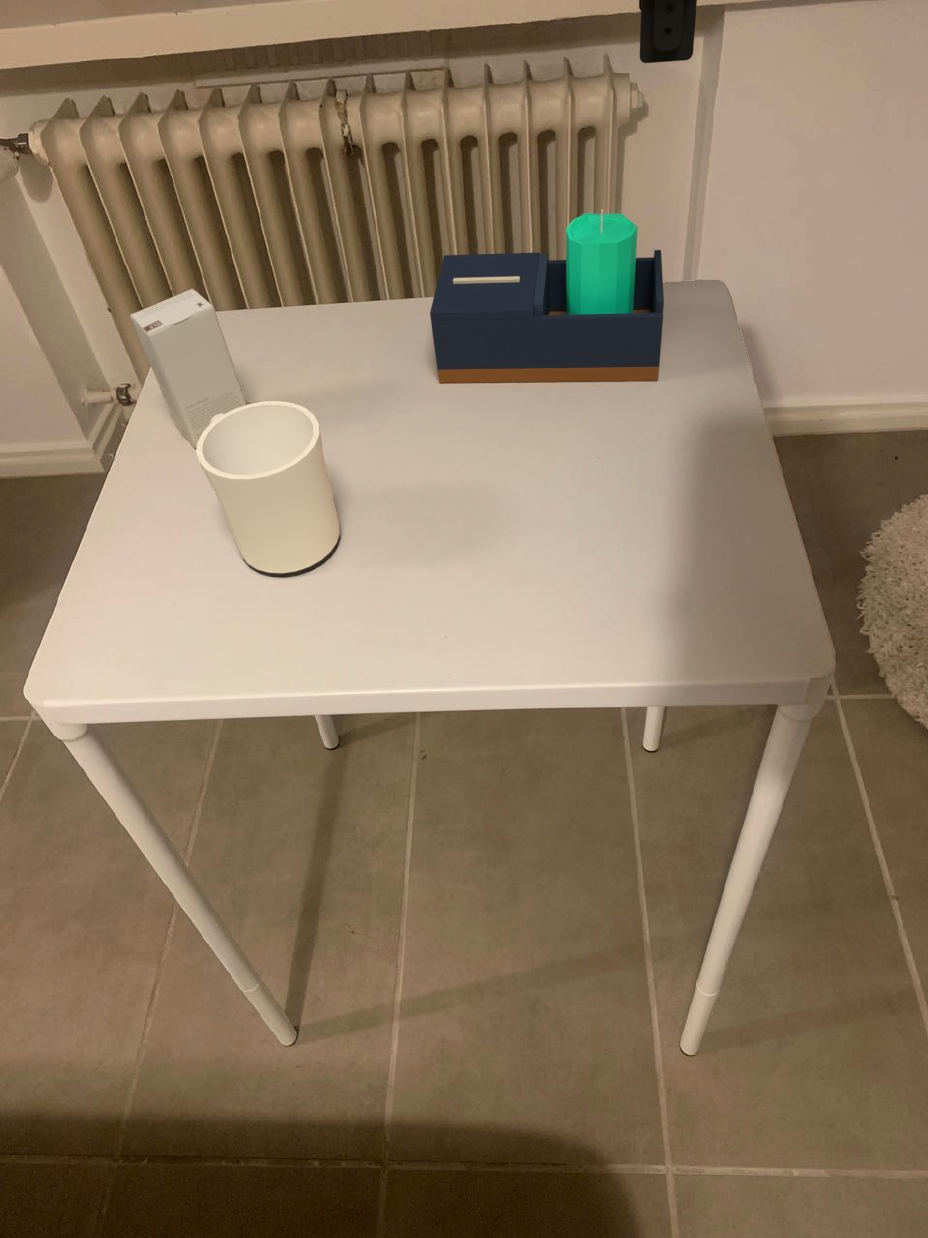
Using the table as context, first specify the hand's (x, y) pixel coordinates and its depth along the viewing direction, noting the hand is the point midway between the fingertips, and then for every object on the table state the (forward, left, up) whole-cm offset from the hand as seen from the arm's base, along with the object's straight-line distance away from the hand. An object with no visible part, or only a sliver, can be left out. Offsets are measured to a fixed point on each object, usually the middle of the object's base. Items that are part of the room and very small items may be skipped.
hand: (664, 33), depth 60 cm
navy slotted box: (+8, -8, -29) cm, 31 cm away
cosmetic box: (+38, +4, -29) cm, 48 cm away
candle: (+4, -8, -27) cm, 29 cm away
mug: (+28, +18, -29) cm, 44 cm away
